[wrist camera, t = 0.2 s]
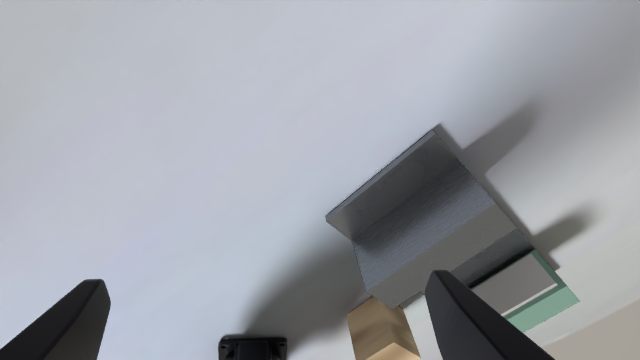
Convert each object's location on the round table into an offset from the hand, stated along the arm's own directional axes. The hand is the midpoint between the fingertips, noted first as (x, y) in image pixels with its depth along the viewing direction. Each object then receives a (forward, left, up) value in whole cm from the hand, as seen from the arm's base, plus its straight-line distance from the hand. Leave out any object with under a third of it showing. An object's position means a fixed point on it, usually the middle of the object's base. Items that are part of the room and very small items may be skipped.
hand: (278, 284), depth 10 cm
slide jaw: (-16, -21, -13) cm, 30 cm away
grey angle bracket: (-12, -17, -14) cm, 25 cm away
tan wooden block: (-21, -11, -14) cm, 28 cm away
